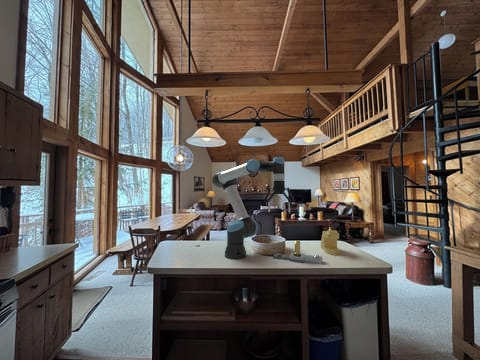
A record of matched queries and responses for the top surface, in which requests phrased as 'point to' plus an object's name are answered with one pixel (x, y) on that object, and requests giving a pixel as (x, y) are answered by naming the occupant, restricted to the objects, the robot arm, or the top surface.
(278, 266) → the top surface
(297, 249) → the pin
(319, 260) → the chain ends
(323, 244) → the yellow irregular block
